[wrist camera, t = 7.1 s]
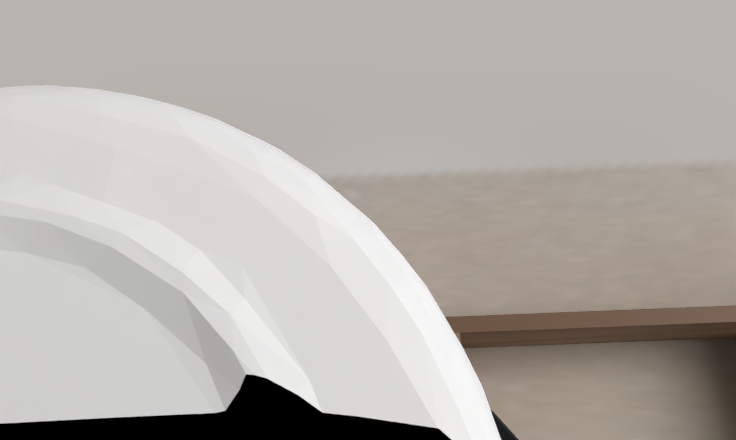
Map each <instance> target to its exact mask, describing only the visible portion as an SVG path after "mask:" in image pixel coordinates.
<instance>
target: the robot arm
mask: <svg viewBox="0 0 736 440" xmlns="http://www.w3.org/2000/svg"><path fill="white" fill-rule="evenodd" d="M490 410H491V409H490ZM491 412H492V415H493V418H494V421H495V424H496V426H497V429H498V432H499V435H500V438H501V440H518V439H517V437H516V436H515V435H514V434H513V433H512V432H511V431H510V430H509V429H508V427H507V426H506V425H505V424H504V423H503V422H502V421H501V420H500V419H499V418H498V416H497V415H496V414H495V413H494V412H493V411H492V410H491Z"/></svg>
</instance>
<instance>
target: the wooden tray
mask: <svg viewBox="0 0 736 440" xmlns="http://www.w3.org/2000/svg"><path fill="white" fill-rule="evenodd" d="M445 318H446V320H447V322H448V323H449V325H450V327H451V328H452V330H453V332H454V333H455V335H456V337H457V338H458V340H459V342H460V343H461V345H462V347H463V348H478V347H503V346H528V345H554V344H579V343H604V342H630V341H655V340H680V339H706V338H731V337H736V306H713V307H688V308H663V309H638V310H613V311H588V312H562V313H537V314H512V315H487V316H462V317H445Z"/></svg>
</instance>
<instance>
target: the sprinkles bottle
mask: <svg viewBox="0 0 736 440" xmlns="http://www.w3.org/2000/svg"><path fill="white" fill-rule="evenodd" d="M0 440H501V438H500V435H499V432H498V429H497V426H496V424H495V421H494V418H493V415H492V412H491V410H490V407H489V404H488V401H487V398H486V396H485V393H484V390H483V387H482V385H481V383H480V381H479V379H478V377H477V375H476V373H475V371H474V369H473V367H472V365H471V363H470V361H469V359H468V357H467V355H466V353H465V351H464V349H463V347H462V345H461V343H460V342H459V340H458V338H457V337H456V335H455V333H454V332H453V330H452V328H451V327H450V325H449V323H448V322H447V320H446V318H445V316H444V315H443V313H442V311H441V310H440V308H439V306H438V305H437V303H436V301H435V300H434V298H433V296H432V295H431V293H430V291H429V290H428V288H427V286H426V285H425V284H424V283H423V281H422V280H421V279H420V277H419V276H418V275H417V274H416V272H415V271H414V270H413V269H412V267H411V266H410V265H409V264H408V262H407V261H406V260H405V258H404V257H403V256H402V255H401V253H400V252H399V251H398V250H397V249H396V248H395V246H394V245H393V244H392V243H391V242H390V241H389V240H388V239H387V237H386V236H385V235H384V234H383V233H382V232H381V231H380V230H379V228H378V227H377V226H376V225H375V224H374V223H373V222H372V221H371V220H370V219H369V218H367V217H366V216H365V215H364V214H363V213H362V212H360V211H359V210H358V209H357V208H356V207H354V206H353V205H352V204H351V203H350V202H349V201H347V200H346V199H345V198H344V197H343V196H342V195H340V194H339V193H338V192H337V191H336V190H335V189H333V188H332V187H331V186H330V185H329V184H328V183H326V182H325V181H324V180H323V179H322V178H320V177H319V176H318V175H317V174H316V173H314V172H313V171H311V170H310V169H308V168H307V167H305V166H304V165H302V164H301V163H299V162H298V161H296V160H295V159H293V158H292V157H290V156H289V155H287V154H285V153H284V152H282V151H281V150H279V149H278V148H276V147H274V146H272V145H270V144H268V143H266V142H264V141H262V140H260V139H258V138H256V137H254V136H252V135H249V134H247V133H245V132H243V131H241V130H239V129H236V128H234V127H232V126H230V125H228V124H226V123H224V122H221V121H220V120H217V119H215V118H213V117H210V116H207V115H204V114H201V113H198V112H195V111H192V110H189V109H186V108H183V107H180V106H177V105H173V104H168V103H164V102H161V101H157V100H152V99H149V98H145V97H141V96H135V95H130V94H123V93H117V92H111V91H105V90H100V89H93V88H80V87H79V88H78V87H65V86H52V85H48V86H46V85H45V86H43V85H40V86H39V85H37V86H36V85H34V86H11V87H0Z"/></svg>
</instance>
